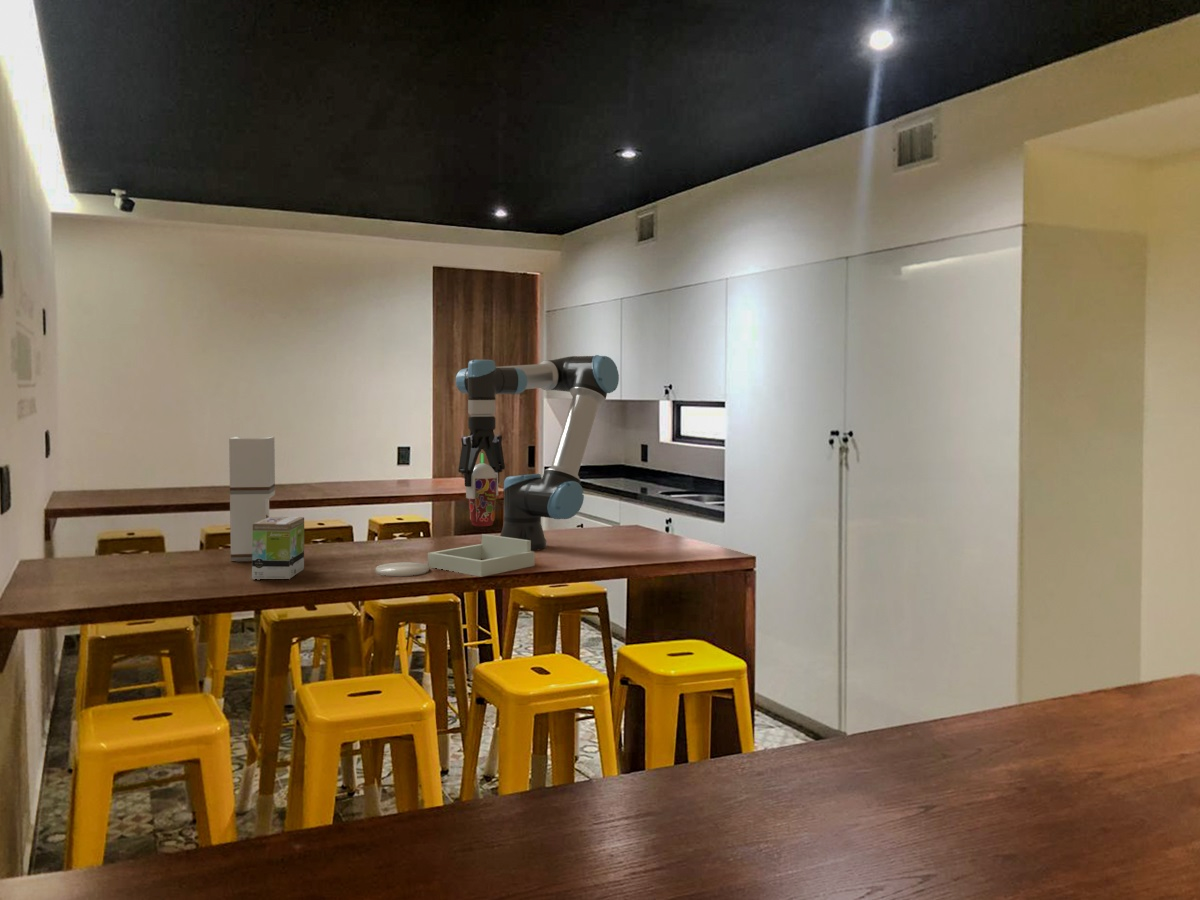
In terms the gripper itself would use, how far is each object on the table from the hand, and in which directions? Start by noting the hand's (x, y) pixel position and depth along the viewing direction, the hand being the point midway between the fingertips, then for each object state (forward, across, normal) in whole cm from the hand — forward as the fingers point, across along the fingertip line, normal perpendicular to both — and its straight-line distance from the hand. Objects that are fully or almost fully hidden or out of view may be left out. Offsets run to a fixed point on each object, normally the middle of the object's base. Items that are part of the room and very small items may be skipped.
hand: (482, 496), depth 258 cm
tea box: (+19, +44, -32) cm, 57 cm away
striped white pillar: (+19, +34, -60) cm, 71 cm away
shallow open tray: (+20, 0, 0) cm, 20 cm away
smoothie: (+8, 0, 0) cm, 8 cm away
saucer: (+19, +20, -11) cm, 30 cm away
